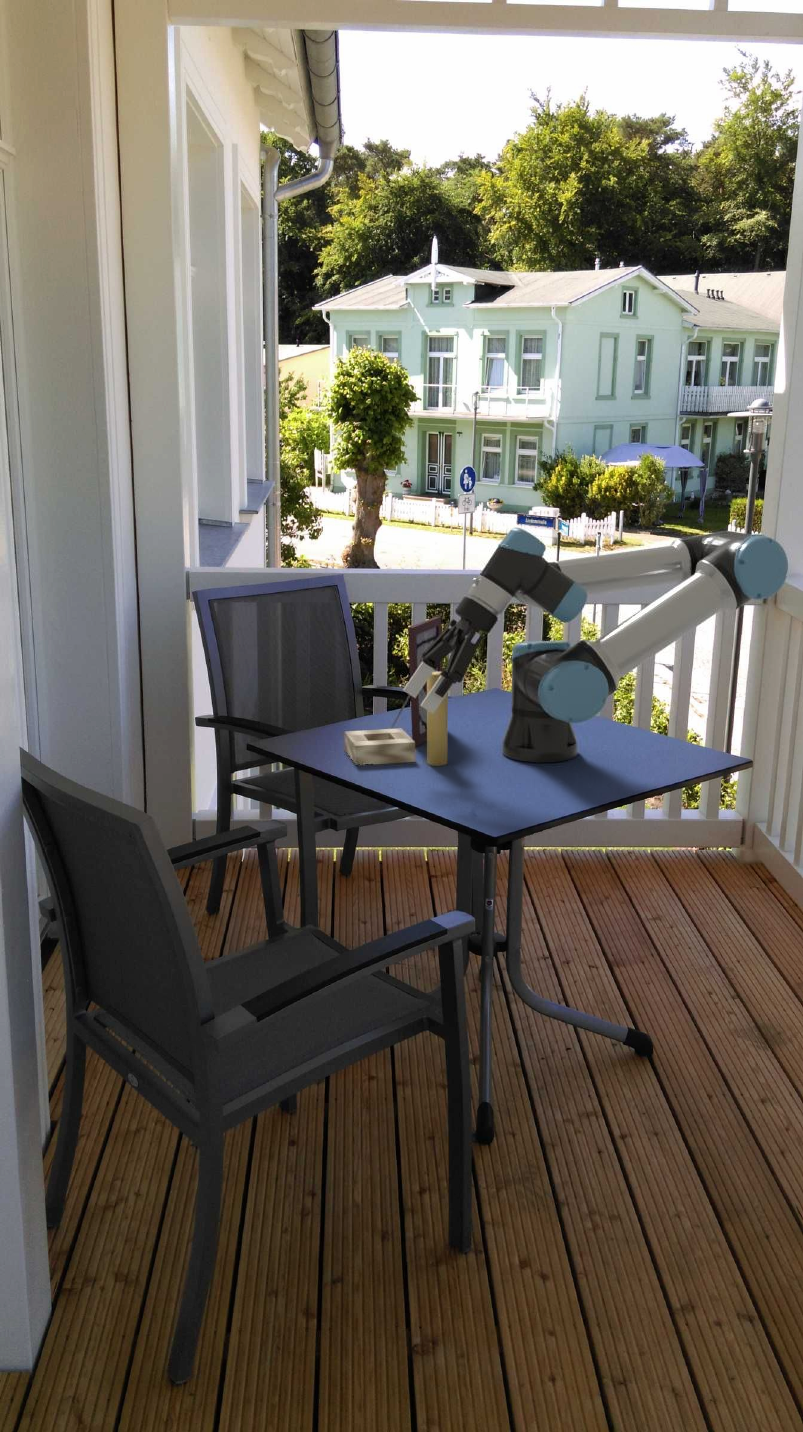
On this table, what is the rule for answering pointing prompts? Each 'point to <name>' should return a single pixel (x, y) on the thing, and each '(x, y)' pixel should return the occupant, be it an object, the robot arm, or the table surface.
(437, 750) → the peg
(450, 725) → the table surface
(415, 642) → the picture frame
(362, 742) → the socket block
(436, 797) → the table surface
